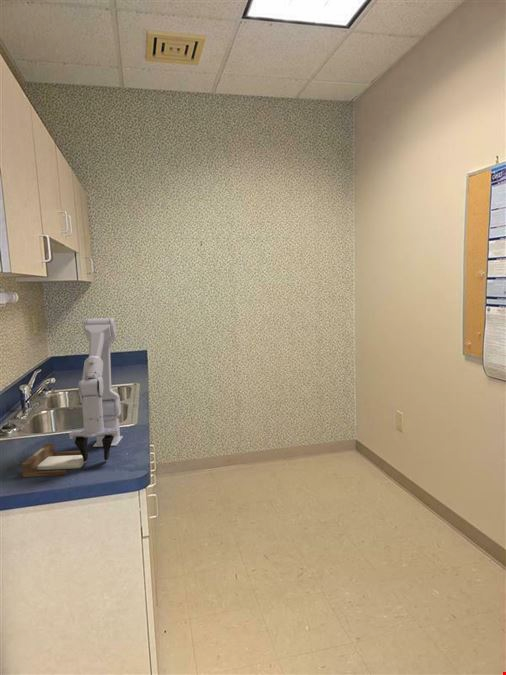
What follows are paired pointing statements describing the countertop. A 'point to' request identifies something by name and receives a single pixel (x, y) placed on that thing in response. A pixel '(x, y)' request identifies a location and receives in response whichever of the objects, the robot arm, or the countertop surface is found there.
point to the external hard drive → (61, 462)
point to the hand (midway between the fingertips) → (96, 459)
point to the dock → (47, 450)
